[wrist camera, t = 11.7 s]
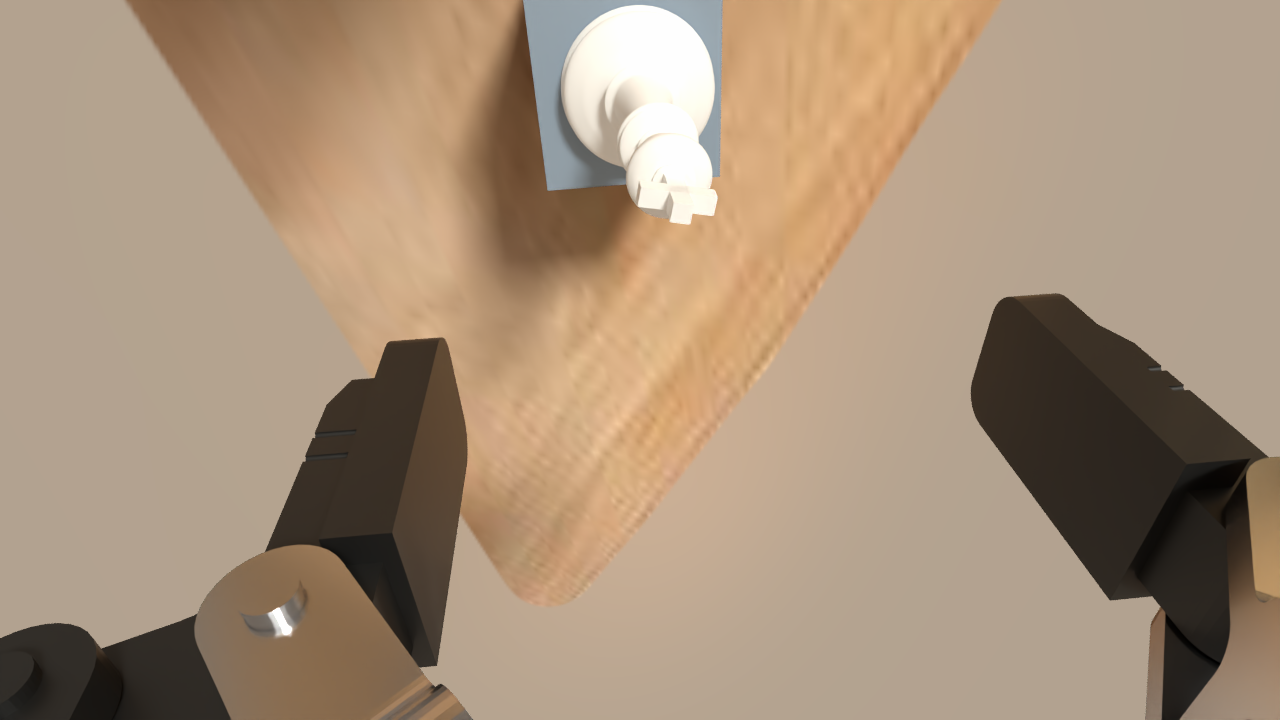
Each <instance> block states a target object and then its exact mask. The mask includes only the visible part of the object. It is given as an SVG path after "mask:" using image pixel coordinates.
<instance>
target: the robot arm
mask: <svg viewBox="0 0 1280 720" xmlns="http://www.w3.org/2000/svg"><path fill="white" fill-rule="evenodd" d="M971 401H972V407H973V411H974V414H975V416H976V418H977V420H978V422H979V424H980V425H981V427H982V428H983V429H984V431H985V432H986V433H987V435H988V436H989V437H990V439H991V440H992V441H993V443H994V444H995V445H996V447H997V448H998V450H999V451H1000V452H1001V454H1002V455H1003V456H1004V458H1005V459H1006V460H1007V462H1008V463H1009V465H1010V466H1011V467H1012V468H1013V470H1014V471H1015V473H1016V474H1017V475H1018V477H1019V478H1020V479H1021V481H1022V482H1023V483H1024V485H1025V486H1026V487H1027V489H1028V490H1029V491H1030V493H1031V494H1032V496H1033V497H1034V498H1035V500H1036V501H1037V502H1038V504H1039V505H1040V506H1041V508H1042V509H1043V510H1044V512H1045V513H1046V515H1047V516H1048V517H1049V519H1050V520H1051V521H1052V523H1053V524H1054V525H1055V527H1056V528H1057V529H1058V530H1059V532H1060V534H1061V535H1062V536H1063V537H1064V539H1065V540H1066V541H1067V543H1068V544H1069V546H1070V547H1071V548H1072V549H1073V551H1074V552H1075V554H1076V555H1077V556H1078V558H1079V559H1080V561H1081V562H1082V563H1083V565H1084V566H1085V567H1086V569H1087V570H1088V571H1089V573H1090V574H1091V575H1092V577H1093V578H1094V579H1095V581H1096V582H1097V583H1098V585H1099V586H1100V588H1101V589H1102V590H1103V592H1104V593H1105V594H1106V596H1107V597H1108V598H1109V600H1118V599H1129V598H1139V597H1148V596H1153V598H1154V599H1155V600H1156V601H1157V603H1158V604H1159V605H1160V606H1161V607H1160V608H1159V610H1158V612H1157V613H1156V615H1155V617H1154V618H1153V620H1152V622H1151V627H1150V643H1149V661H1148V679H1147V697H1146V716H1145V720H1280V457H1268V456H1267V455H1265V454H1264V453H1263V452H1262V451H1261V450H1260V449H1258V448H1257V447H1256V446H1255V445H1254V444H1252V443H1251V442H1250V441H1249V440H1247V438H1245V437H1244V436H1243V435H1242V434H1241V433H1240V432H1238V431H1237V430H1236V429H1235V428H1234V427H1233V426H1231V425H1230V424H1229V423H1228V422H1227V421H1225V420H1224V419H1223V418H1222V417H1221V416H1220V415H1218V414H1217V413H1216V412H1215V411H1214V410H1213V409H1211V408H1210V407H1209V406H1208V405H1207V404H1205V403H1204V402H1203V401H1202V400H1201V399H1200V398H1198V397H1197V396H1196V395H1195V394H1194V393H1192V392H1191V391H1190V390H1184V388H1183V384H1182V383H1181V382H1179V381H1178V380H1177V379H1176V378H1175V377H1174V376H1172V375H1171V374H1170V373H1169V372H1168V371H1161V365H1160V364H1158V363H1157V362H1156V361H1155V360H1154V359H1152V358H1151V357H1150V356H1149V355H1148V354H1147V353H1145V352H1144V351H1143V350H1142V349H1141V348H1139V347H1138V346H1137V345H1136V344H1135V343H1133V342H1131V341H1129V340H1127V339H1125V338H1123V337H1121V336H1120V335H1117V334H1116V333H1113V332H1112V331H1110V330H1107V329H1106V328H1103V327H1102V326H1100V325H1098V324H1096V323H1095V322H1094V321H1093V320H1092V319H1091V318H1090V317H1088V316H1087V315H1086V314H1085V313H1084V312H1083V311H1082V310H1080V309H1079V308H1078V307H1077V306H1076V305H1075V304H1074V303H1072V302H1071V301H1070V300H1069V299H1068V298H1066V297H1065V296H1064V295H1061V294H1056V293H1055V294H1042V295H1028V296H1014V297H1006V298H1003V299H1002V300H1000V301H999V302H998V304H997V305H996V307H995V309H994V311H993V314H992V317H991V321H990V324H989V327H988V331H987V334H986V337H985V340H984V344H983V347H982V350H981V354H980V357H979V360H978V364H977V367H976V370H975V374H974V377H973V380H972V385H971ZM315 435H316V436H315V438H313V439H312V441H311V444H310V446H309V448H308V451H307V453H306V456H305V457H306V462H303V463H302V465H301V467H300V470H299V472H298V475H297V477H296V479H295V482H294V484H293V486H292V489H291V491H290V494H289V496H288V499H287V501H286V503H285V506H284V508H283V510H282V513H281V515H280V517H279V520H278V522H277V525H276V527H275V529H274V532H273V534H272V537H271V539H270V541H269V544H268V546H267V549H266V551H265V552H264V553H261V554H259V555H257V556H255V557H253V558H251V559H249V560H247V561H245V562H244V563H242V564H241V565H239V566H237V567H236V568H235V569H233V570H232V571H231V572H229V573H228V574H227V575H226V576H224V577H223V578H222V579H221V580H220V581H219V582H218V583H217V584H216V585H215V586H214V588H213V589H212V590H211V591H210V593H209V594H208V595H207V597H206V598H205V600H204V601H203V603H202V604H201V607H200V609H199V612H198V614H196V615H194V616H192V617H189V618H187V619H184V620H182V621H180V622H177V623H174V624H171V625H168V626H165V627H162V628H159V629H156V630H154V631H151V632H148V633H145V634H142V635H139V636H137V637H134V638H131V639H128V640H125V641H122V642H119V643H116V644H114V645H111V646H108V647H105V648H102V649H101V648H100V647H99V646H98V644H97V643H96V642H95V640H94V639H93V638H92V637H91V636H90V634H89V633H88V632H87V631H85V630H84V629H82V628H80V627H77V626H74V625H71V624H61V623H54V624H44V625H39V626H34V627H30V628H27V629H23V630H20V631H17V632H14V633H12V634H10V635H7V636H5V637H2V638H0V720H473V719H472V718H471V716H470V715H469V714H468V712H467V711H466V710H465V708H464V707H463V706H462V704H461V703H460V702H459V701H458V699H457V698H456V697H455V696H454V695H453V694H452V692H450V690H449V689H447V688H446V687H445V686H444V685H442V684H440V685H438V686H436V687H435V686H434V685H432V683H431V682H430V681H429V680H428V679H427V677H426V676H425V675H424V673H423V672H422V671H421V669H420V668H419V667H429V666H437V662H438V655H439V648H440V642H441V635H442V628H443V622H444V615H445V608H446V601H447V595H448V588H449V581H450V574H451V568H452V561H453V554H454V548H455V540H456V534H457V527H458V521H459V514H460V507H461V500H462V494H463V487H464V480H465V474H466V467H467V433H466V426H465V420H464V415H463V411H462V406H461V402H460V397H459V393H458V388H457V384H456V379H455V375H454V370H453V366H452V361H451V357H450V352H449V348H448V345H447V343H446V341H445V339H444V338H428V339H415V340H401V341H390V342H388V343H387V345H386V347H385V350H384V352H383V355H382V358H381V361H380V364H379V367H378V370H377V373H376V375H375V378H371V379H358V380H352V381H351V382H350V383H348V384H347V385H346V386H345V388H343V389H342V390H341V391H340V392H339V393H338V394H337V395H336V396H335V397H334V398H333V399H332V400H331V401H330V402H329V403H328V404H327V405H326V408H325V410H324V412H323V415H322V417H321V420H320V422H319V424H318V427H317V429H316V432H315Z"/></svg>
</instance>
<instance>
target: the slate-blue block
mask: <svg viewBox="0 0 1280 720" xmlns="http://www.w3.org/2000/svg"><path fill="white" fill-rule="evenodd" d="M523 3H524V11H525V19H526V27H527V34H528V42H529V50H530V58H531V65H532V73H533V81H534V89H535V97H536V104H537V112H538V120H539V128H540V135H541V143H542V151H543V159H544V167H545V174H546V182H547V190H548V191H551V190H563V189H576V188H588V187H600V186H612V185H624V184H626V170H625V169H624V168H623V167H621V166H617V165H614V164H611V163H609V162H607V161H605V160H603V159H601V158H599V157H598V156H596V155H595V154H593V153H592V152H591V151H590V150H589V149H588V148H587V147H586V146H585V145H584V144H583V143H582V142H581V141H580V140H579V138H578V137H577V135H576V134H575V132H574V131H573V129H572V127H571V125H570V124H569V121H568V119H567V117H566V114H565V111H564V108H563V103H562V97H561V76H562V70H563V66H564V62H565V59H566V56H567V54H568V52H569V50H570V48H571V46H572V44H573V42H574V41H575V39H576V38H577V37H578V35H579V34H580V33H581V32H582V30H583V29H584V28H585V27H586V26H587V25H589V24H590V23H591V22H592V21H593V20H595V19H596V18H598V17H599V16H601V15H603V14H605V13H607V12H609V11H611V10H614V9H617V8H620V7H625V6H631V5H647V6H654V7H658V8H661V9H664V10H667V11H669V12H671V13H673V14H675V15H677V16H678V17H680V18H681V19H683V20H684V21H685V22H686V23H688V24H689V25H690V26H691V27H692V28H693V29H694V30H695V32H696V33H697V34H698V35H699V37H700V38H701V40H702V41H703V43H704V45H705V47H706V49H707V51H708V53H709V56H710V59H711V63H712V67H713V73H714V82H715V94H714V102H713V107H712V111H711V114H710V117H709V119H708V122H707V124H706V126H705V128H704V129H703V131H702V133H701V134H700V136H699V137H698V138H699V144H700V145H701V146H702V147H703V148H704V150H705V151H706V153H707V154H708V156H709V159H710V161H711V165H712V177H720V130H721V65H722V0H523Z"/></svg>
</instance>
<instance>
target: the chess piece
mask: <svg viewBox="0 0 1280 720" xmlns="http://www.w3.org/2000/svg"><path fill="white" fill-rule="evenodd" d="M714 94H715V82H714V73H713V67H712V63H711V59H710V56H709V53H708V51H707V49H706V47H705V45H704V43H703V41H702V40H701V38H700V37H699V35H698V34H697V33H696V32H695V30H694V29H693V28H692V27H691V26H690V25H689V24H688V23H686V22H685V21H684V20H683V19H681V18H680V17H678V16H677V15H675V14H673V13H671V12H669V11H667V10H664V9H661V8H658V7H654V6H647V5H631V6H625V7H620V8H617V9H614V10H611V11H609V12H607V13H605V14H603V15H601V16H599V17H598V18H596V19H595V20H593V21H592V22H591V23H590V24H589V25H587V26H586V27H585V28H584V29H583V30H582V32H581V33H580V34H579V35H578V37H577V38H576V39H575V41H574V42H573V44H572V46H571V48H570V50H569V52H568V54H567V56H566V59H565V62H564V66H563V70H562V76H561V97H562V103H563V108H564V111H565V114H566V117H567V119H568V121H569V124H570V125H571V127H572V129H573V131H574V132H575V134H576V135H577V137H578V138H579V140H580V141H581V142H582V143H583V144H584V145H585V146H586V147H587V148H588V149H589V150H590V151H591V152H592V153H593V154H595V155H596V156H598V157H599V158H601V159H603V160H605V161H607V162H609V163H611V164H614V165H617V166H621V167H623V168H624V169H625V170H626V184H627V189H628V192H629V195H630V197H631V198H632V200H633V202H634V203H635V204H636V205H637V206H638V207H639V208H640V209H641V210H642V211H644V212H645V213H647V214H649V215H651V216H654V217H658V218H665V219H669V221H670V222H673V223H681V224H690V222H691V218H692V213H693V214H701V215H709V216H714V212H715V207H716V203H717V199H718V196H717V194H716V192H715V190H713V189H710V187H711V183H712V165H711V161H710V159H709V156H708V154H707V153H706V151H705V150H704V148H703V147H702V146H701V145H700V144H699V138H698V137H699V136H700V134H701V133H702V131H703V129H704V128H705V126H706V124H707V122H708V119H709V117H710V114H711V111H712V107H713V102H714Z"/></svg>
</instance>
